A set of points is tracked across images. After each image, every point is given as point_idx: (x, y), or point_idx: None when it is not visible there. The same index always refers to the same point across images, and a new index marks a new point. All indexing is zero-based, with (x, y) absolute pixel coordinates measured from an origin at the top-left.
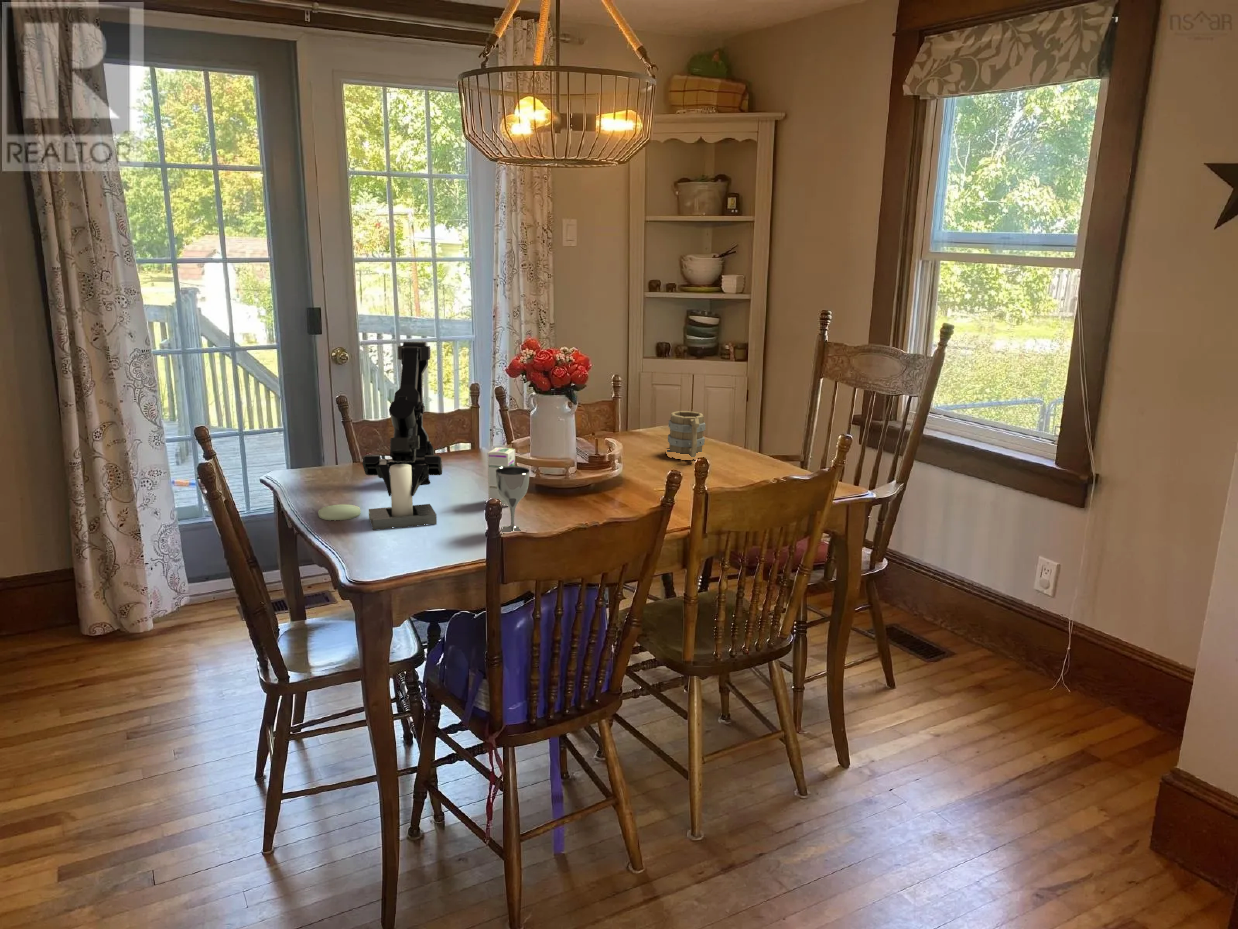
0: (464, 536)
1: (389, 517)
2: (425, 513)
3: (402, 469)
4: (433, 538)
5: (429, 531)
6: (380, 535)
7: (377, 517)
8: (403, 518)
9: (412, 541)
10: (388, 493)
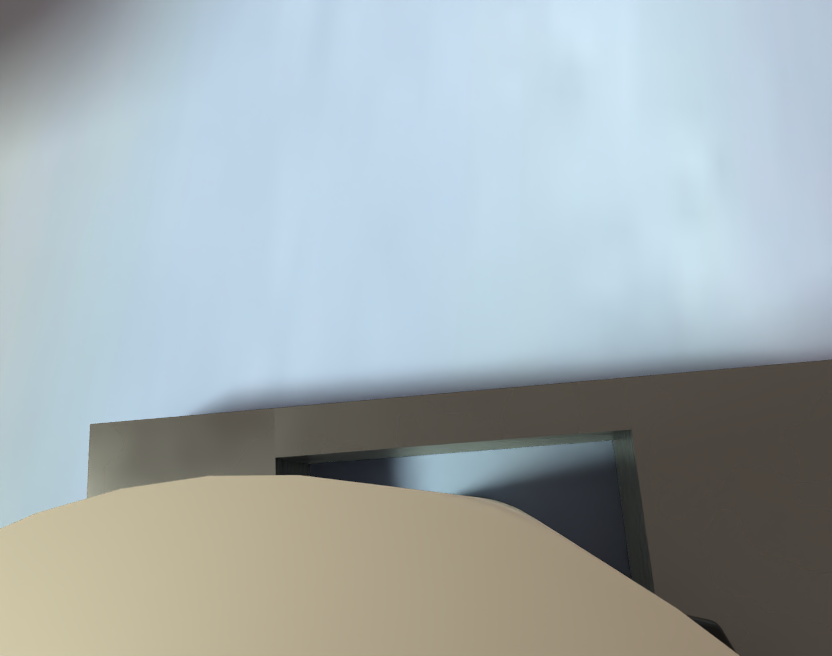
0: (6, 84)
1: (633, 423)
2: None
3: (209, 483)
4: (245, 72)
5: (248, 247)
6: (705, 213)
7: (790, 452)
8: (465, 392)
9: (421, 26)
10: (721, 629)
